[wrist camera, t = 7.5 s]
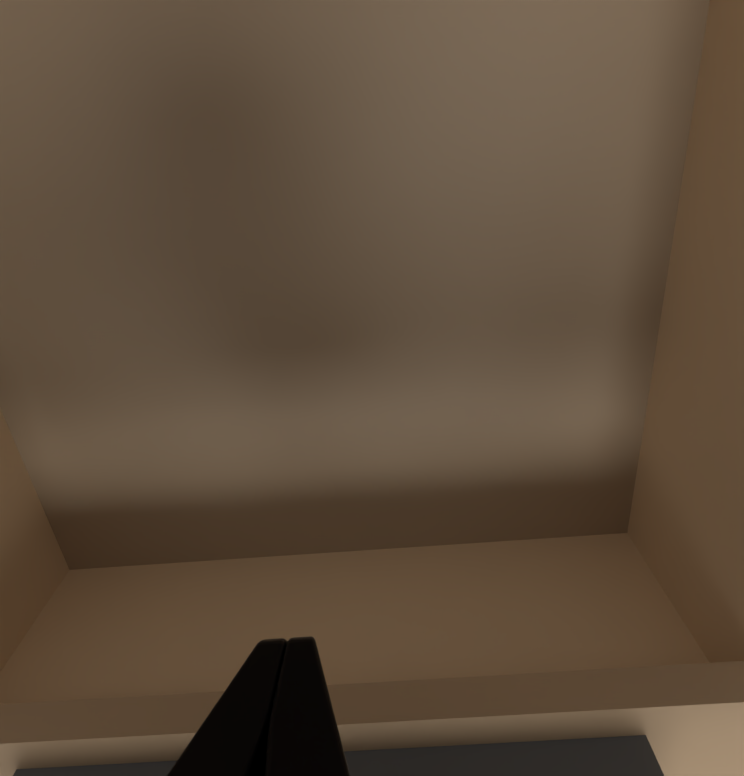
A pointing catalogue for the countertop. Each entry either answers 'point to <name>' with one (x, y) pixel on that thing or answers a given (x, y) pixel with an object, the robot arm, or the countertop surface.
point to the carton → (368, 338)
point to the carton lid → (430, 726)
